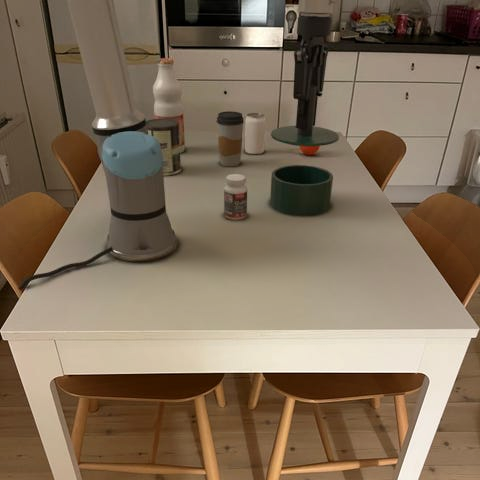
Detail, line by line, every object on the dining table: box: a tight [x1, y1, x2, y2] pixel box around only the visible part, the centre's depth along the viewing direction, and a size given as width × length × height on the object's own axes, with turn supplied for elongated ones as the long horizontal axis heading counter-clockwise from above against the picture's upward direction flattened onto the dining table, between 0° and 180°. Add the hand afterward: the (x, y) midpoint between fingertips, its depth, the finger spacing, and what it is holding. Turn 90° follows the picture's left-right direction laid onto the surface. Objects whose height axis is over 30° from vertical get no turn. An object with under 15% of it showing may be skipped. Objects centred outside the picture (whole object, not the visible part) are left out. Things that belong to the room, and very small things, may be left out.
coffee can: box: [146, 118, 182, 177], centre depth 153 cm, size 10×10×14 cm
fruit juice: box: [152, 57, 186, 154], centre depth 166 cm, size 9×9×28 cm
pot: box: [269, 164, 334, 217], centre depth 134 cm, size 16×16×8 cm
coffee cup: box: [216, 110, 245, 167], centre depth 159 cm, size 8×8×15 cm
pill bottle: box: [223, 173, 248, 221], centre depth 126 cm, size 6×6×10 cm
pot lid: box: [270, 84, 340, 147], centre depth 123 cm, size 17×17×12 cm
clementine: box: [298, 146, 321, 156], centre depth 170 cm, size 8×7×7 cm
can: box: [244, 112, 266, 156], centre depth 170 cm, size 6×6×12 cm
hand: (305, 126), depth 125 cm, fingers closed on pot lid, 4 cm apart
